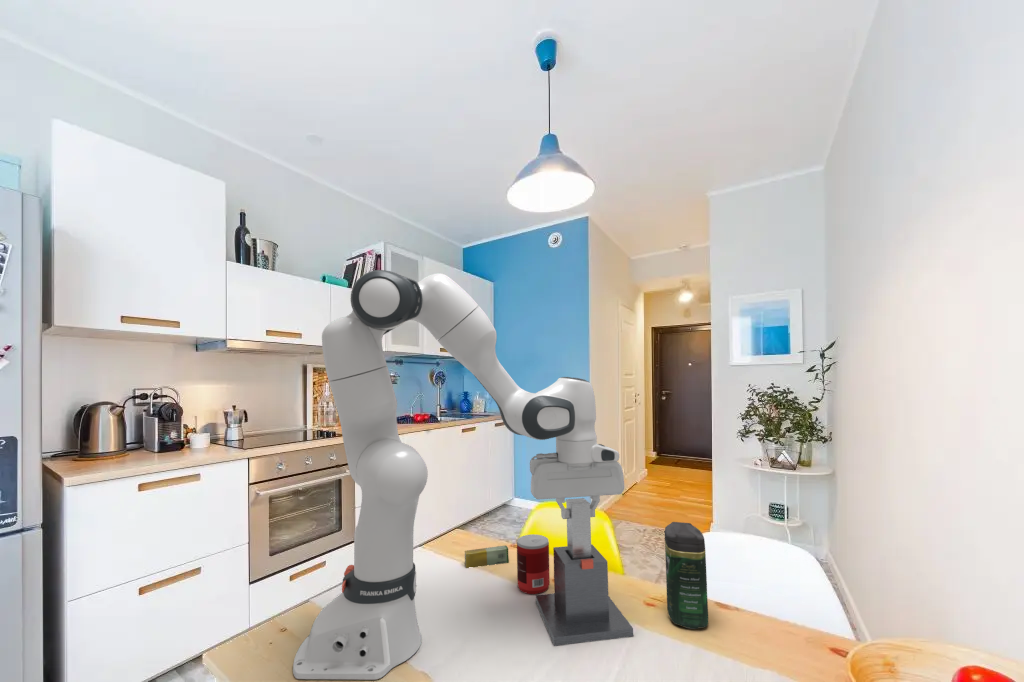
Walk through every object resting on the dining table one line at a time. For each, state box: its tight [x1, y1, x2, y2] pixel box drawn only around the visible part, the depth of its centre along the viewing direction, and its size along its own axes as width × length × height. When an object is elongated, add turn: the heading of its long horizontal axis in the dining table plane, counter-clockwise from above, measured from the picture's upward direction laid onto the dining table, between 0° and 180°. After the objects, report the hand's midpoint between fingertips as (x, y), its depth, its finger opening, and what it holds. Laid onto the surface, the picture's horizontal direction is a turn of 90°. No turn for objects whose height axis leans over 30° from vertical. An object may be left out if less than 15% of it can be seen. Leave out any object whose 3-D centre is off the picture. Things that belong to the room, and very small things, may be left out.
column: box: [565, 497, 592, 560], centre depth 91 cm, size 4×4×22 cm
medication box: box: [464, 545, 510, 569], centre depth 117 cm, size 12×3×4 cm, turn 105°
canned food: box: [516, 534, 551, 595], centre depth 104 cm, size 8×8×11 cm
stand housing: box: [535, 543, 634, 647], centre depth 91 cm, size 16×16×14 cm
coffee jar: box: [664, 521, 709, 630], centre depth 90 cm, size 10×8×19 cm
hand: (578, 517), depth 92 cm, fingers open, 4 cm apart
